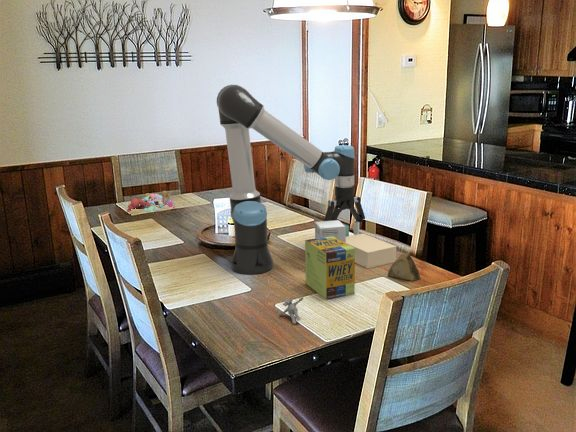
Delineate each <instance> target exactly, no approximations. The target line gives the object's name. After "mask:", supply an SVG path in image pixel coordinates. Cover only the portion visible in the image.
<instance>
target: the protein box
mask: <svg viewBox="0 0 576 432" xmlns="http://www.w3.org/2000/svg"><path fill="white" fill-rule="evenodd" d="M304 243H305V244H304V247H305V249H304V251H305V253H304V255H305V285H307V286H308V287H310V288H311V289H312V290H313V291H315V292H316V293H317V294H318V295H320V296H321V297H322V298H324V300H330V299H331V300H332V299H336V298H340V297H345V296H351V295H355V291H356V290H355V289H356V288H355V286H356V282H355V280H356V278H355V277H356V276H355V272H356V271H355V270H356V268H355V267H356V265H355V248H354V247H352V246H350V245H348V244H346V243H345V242H343V241H341V240H339V239H337V238H335V237H333V236H331V237H324V238H316V239H315V238H311V239H305V240H304Z"/></svg>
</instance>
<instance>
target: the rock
mask: <svg viewBox="0 0 576 432" xmlns="http://www.w3.org/2000/svg"><path fill="white" fill-rule="evenodd" d="M420 274H421V273H420V271H419V269H418V267H417V265H416V263H415V261H414V259H413V258H412V257H411V255H410V254H408V253H402V254H400V255H399V256H398V257H397V258H396V261H395V262H393V263H391V266H390V268H389V270H388V272H387V276H388V277H391V278H393V277H394V278H397V279H401V280H405V281H419V280H420V279H421V278H422V277H421V275H420Z"/></svg>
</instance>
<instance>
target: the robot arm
mask: <svg viewBox="0 0 576 432" xmlns="http://www.w3.org/2000/svg"><path fill="white" fill-rule="evenodd" d="M216 107H217V108H218V115H219V116H218V117H219V123H220V125H221V126H222V127H223V129H224V130H225V138H226V139H225V141H226V147H227V154H228V162H229V170H230V171H229V172H230V179H231V187H232V192H231V194H230V195H229V205H230V217H231V220H232V223H233V225H234V240H235V244H234V245H235V248H234V249H235V250H234V252H233V255H232V260H231V270H232V271H233V272H236V273H238V274H243V275H256V274H263V273H267V272H269V271H271V270H273V267H274V259H273V256H272V254H271V251H270V249H269V246H268V222H267V221H268V220H267V218H268V211H267V208H266V205H265V204H264V203H262V201H261V200H262V198H261V193H260V192H259V191H258V190H257V189H256V181H255V175H254V163H253V155H252V148H251V139H250V138H251V137H250V129H252V130H254V131H255V132H257V133H259V134H260V135H261V136H263V137H264V138H265V139H267V140H268V141H270V142H271V143H273V144H274V145H275V146H277V147H278V148H279V149H281V150H283V151H284V152H285V153H286V154H289V156H291V157H293V158H294V159H295V160H297V161H299V162H300V163H301V164H303V170H304V171H305V173H309V174H310V173H311V174H314V173H315V174H317V175H318V176H320V177H321V179H323V180H327V181H333V180H334V185H335V187H334V196H335V199H333V200H330V199H329V200H328V202H327V204H328V205H327V209H326V212H325V217H324V220H323V221H334V220H338V217H339V215H340V213H342V211H344V210H349V211H350V213H351V215H352V216H353V218H354V221H353V235H357V234H360V230H361V228H362V227H361V226H362V223H363V221H364V220H365V219H366V216H365V212H364V210H363V206H362V203H361V201H362V200H361V197H360V196H358V195H355V160H356V157H355V156H356V155H355V147H354V146H352V145H347V144H346V145H345V144H342V145H341V144H340V145H336V146H335V147H334V151H322V150H321V149H320V148H319V147H317V146H315V145H314V144H313V143H311V141H310V142H309V141H308V140H307V139H306V138H304V137H303V136H301V134H299V133H298V132H296V131H294V130H293V129H291V128H290V127H289V126H288V125H286V124H285V123H284V122H282V121H281V120H279V119H278V118H276V117H275V116H273V114H271V113H269V112H268V111H267V110H266V109H265V106H264V104H262V103H261V102H260V101H258V100H257V99H256V98H255V97H254V96H253V95H252V94H251V93H250V92H249V91H248V90H247V89H246V88H244V87H242V86H241V85H239V84H229V85H226V86H224V87H222V88H221V89H220V90H219V92H218V93H217V97H216Z"/></svg>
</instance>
